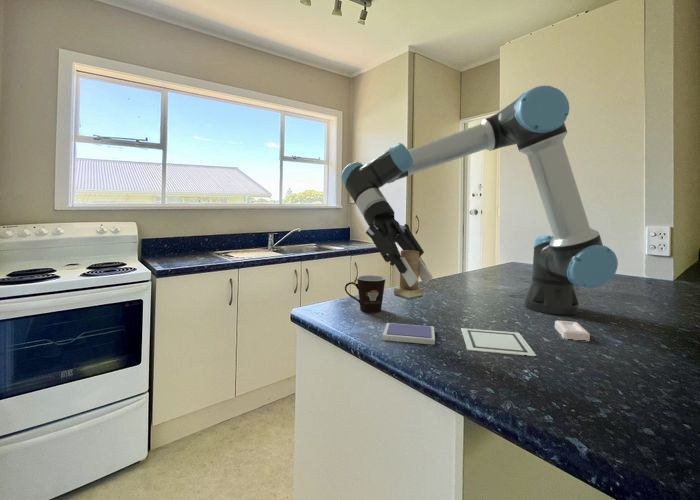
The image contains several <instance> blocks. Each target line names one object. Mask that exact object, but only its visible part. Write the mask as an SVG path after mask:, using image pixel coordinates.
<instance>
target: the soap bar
mask: <svg viewBox="0 0 700 500" xmlns="http://www.w3.org/2000/svg"><path fill="white" fill-rule="evenodd" d="M554 329H555V330H556V331H557V333H559V335H560V334H561V335H560V336H561V337H562V338H563V339H564V338H565V339H564V340H568V339H573V340H572V341H577V340H586V341H585V342H587V341H588V342H590V339H591V337H590V336H591V333H590V332H588V330H587V329H585V328H584V327H583V326H582V325H581V324H580V323H578V322H577V321H568V320H555V321H554Z"/></svg>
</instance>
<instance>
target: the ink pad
mask: <svg viewBox="0 0 700 500" xmlns="http://www.w3.org/2000/svg"><path fill="white" fill-rule="evenodd" d="M382 341H390V342H401V343H403V342H404V343H413V344H424V345H433V346H434V345H435V344H436V336H435V326H431V325H430V326H428V325H418V324H406V323H405V324H404V323H395V322H393V323H392V322H386V324H385V327H384V330H383V333H382Z"/></svg>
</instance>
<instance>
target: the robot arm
mask: <svg viewBox="0 0 700 500" xmlns="http://www.w3.org/2000/svg"><path fill="white" fill-rule="evenodd" d="M569 102H570V101H569V99H568V97H567V96H566V95H565V93H564V92H563V91H561V89H559V88H557V87H554V86H552V85H551V86H550V85H539V86H535V87H533V88H530V90H527V91H525V92H524V93H521V94H520V95H519V97H518V98H516V99H514V101H513V102H511V103H510V104H508V105H507V106H506V107H504V108H503V109H501V110H500V111H499V112H497V113H495V114H493V115H491V116H489V117H486V118H483V119H482V120H480V123H479V124H477V125H475V126H472V127H469V128H465V129H463V130H460V131H458V132H455V133H453V134H449V135H446V136H444V137H441V138H438V139H436V140H432V141H430V142H427V143H424V144H421V145H417V146H415V147H413V148H409V149H407V146H405V145H404V143H397V144H395V145H393V146H391V147H389V148H388V149H387V150H385V151H384V152H382V153H381V154H380V155H378V156H376V157H375V158H374V159H372V160H370V161H369V162H367V163H365V164H363V163H361V162H359V161H354V162H353V163H352V162H351V163H348V164H347V165H346V166H345V167H344V168H343V170H342V171H341V175H340V176H341V177H340V178H341V181H342V183H343V185H344V187H345V189H346V191H347V193H348V194H349V196H350V197H351V199H352V200H353V202H354V204H355V205H356V206H357V208H358V210H359V212H360V214H361V215H362V217H363V218H364V220H365V223H366V225H368V228H367V229H366V231H365V233H366V235H367V236H368V237H369V238H370V239H371V240H372V242H373V244H374V246H375V247H376V249H377V250H378V252H379V254H380V255H381V257H382V258H383V260H384V261H385V262H386V263H389V262H390V263H389V264H390V266H392V267H394V266H395V267H396V268H397V270H398V272H399V274H400V273H401V274H402V275H403V277H404V278H405V280H406V282H407V283H408V285H409V287H411V286H413V285H414V284H415V283H416V282H417V281H418V282H419V278H420V280H421V281H422V283H423V284H424V285H426V284H428V283H429V281H431V280H432V279H433V277H434V276H433V275H432V273H431V272H430V271H429V269H428V268H427V265H426V263H425V262H424V260H423V259H422V258H421V256H422V255H423V254H424V253H425V252H424V249H422V247H421V246H420V244H419V242H418V241H417V239H416V238H415V236H414V234H413V233H412V231H411V229H410V227H409V225H408V224H407V223H405V224H404V225H402V224H400V223H399V221H397V220H396V219H395V211H394V209H393V208H392V206H391V204H390V203H389V202H388V201H387V199H386V197H385V195H384V194H383V193H382V191H381V190H380V188H383V186H385V185H387V184H391V183H394V182H396V181H399V180H401V179H404V178H406V177H409V176H412V175H416V174H417V173H420V172H424V171H425V170H429V169H431V168H435V167H438V166H440V165H444V164H446V163H449V162H452V161H455V160H458V159H461V158H463V157H466V156H469V155H472V154H474V153H477V152H481V151H485V150H487V151H489V152H491V151H494V150H497V149H501V148H504V147H510V146H513V145H516V148H517V149H518V151H519V152H520V153H521V154H525V155H526V156H527V160H528V163H529V167H530V170H531V171H532V175H533V178H534V181H535V183H536V187H537V189H538V193H539V197H540V200H541V202H542V205H543V208H544V212H545V214H546V218H547V221H548V224H549V227H550V229H551V233H552V235H541V236H538V237H536V239H535V241H534V245H533V259H532V273H531V274H532V275H531V283H530V285H529V288H528V289H527V292H526V293H525V294H526V295H525V296H524V301H523V302H524V303H523V306H524V307H525V308H527V309H529V310H532V311H535V312H540V313H545V314H550V315H561V316H562V315H563V316H564V315H566V316H571V315H577V314H579V313H580V302H579V298H578V295H577V291H576V289H575V286H576V287H580V288H584V289H585V288H586V289H595V288H599V287H602V286H604V285H606V284H608V282H610V281H611V280H612V279H613V276H614V275H616V272H617V270H618V265H619V262H618V261H619V259H618V257H617V254H616V253H615V252H614V251H613V250H612V249H611V248H610V247H608V246H607V245H604V244H603V242H602V238H601V236H600V232H599V231H598V230H596V229H594V228H592V227H590V226H591V225H590V224H589V219H588V218H587V215H586V211H585V208H584V204H583V201H582V199H581V194H580V192H579V188H578V186H577V183H576V180H575V176H574V173H573V170H572V166H571V164H570V159H569V157H568V154H567V151H566V147H565V144H564V139H565V137H566V136H567V134H568V129H567V127H566V124H565V122H566V120H567V118H568V115H569V113H570V103H569ZM397 245H398V246H399V247H400V248H401V251H402V250H414V251H419V276H418V278H417V276H416V275H415V273H414V272H413V270H412V269H411V267H410V265H409V264H408V262H407V261H406V259H405V258H404V257H402V258H401V252H400V251H399V248H398V247H397Z"/></svg>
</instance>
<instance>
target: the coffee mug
mask: <svg viewBox="0 0 700 500" xmlns="http://www.w3.org/2000/svg"><path fill="white" fill-rule="evenodd" d="M385 284H386V277H384V276H380V275H372V274H370V275H369V274H367V275H366V274H365V275H360V276H357V278H356V282H353V281H350V282H348V283H346V284H345V286H344V291H345V293H346V294H347V295H348V296H349V297H350V298H352V299H353V300H355V301H357V302H358V304H359V309H360V310H359V311H360V312H363V313H365V314H377V313H380V312H381V311H382V305H383V300H384V299H383V298H384V290H385ZM350 285H354V286H355V288H356V289H357V290H358V298H357V297H355V296H353V295H352V294H350V293H349V292H348V290H347V287H348V286H350Z"/></svg>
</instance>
